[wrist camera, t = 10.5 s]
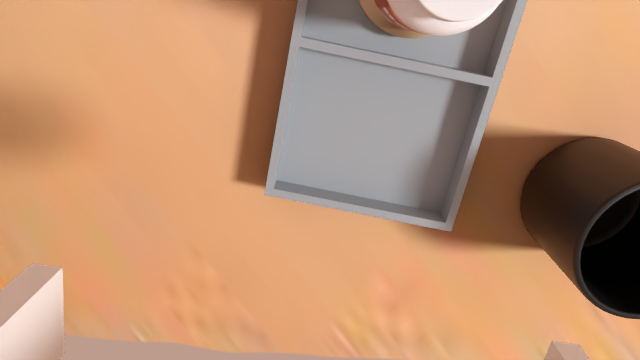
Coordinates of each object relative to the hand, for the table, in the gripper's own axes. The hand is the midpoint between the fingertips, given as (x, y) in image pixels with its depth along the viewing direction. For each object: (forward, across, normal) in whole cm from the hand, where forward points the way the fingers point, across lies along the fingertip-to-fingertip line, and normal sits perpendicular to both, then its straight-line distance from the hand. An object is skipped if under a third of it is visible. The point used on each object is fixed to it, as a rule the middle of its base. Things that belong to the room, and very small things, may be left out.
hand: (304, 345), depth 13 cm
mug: (+24, +22, -2) cm, 32 cm away
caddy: (+24, +4, +6) cm, 25 cm away
